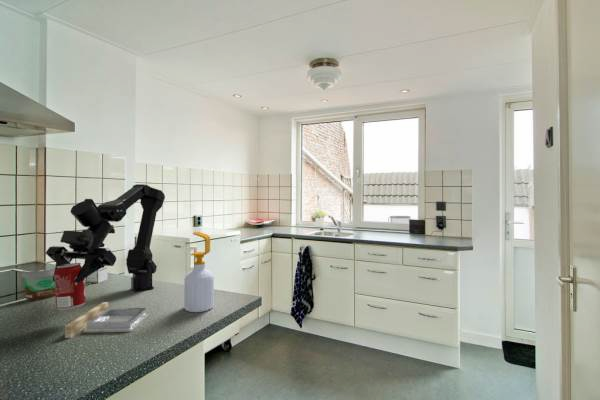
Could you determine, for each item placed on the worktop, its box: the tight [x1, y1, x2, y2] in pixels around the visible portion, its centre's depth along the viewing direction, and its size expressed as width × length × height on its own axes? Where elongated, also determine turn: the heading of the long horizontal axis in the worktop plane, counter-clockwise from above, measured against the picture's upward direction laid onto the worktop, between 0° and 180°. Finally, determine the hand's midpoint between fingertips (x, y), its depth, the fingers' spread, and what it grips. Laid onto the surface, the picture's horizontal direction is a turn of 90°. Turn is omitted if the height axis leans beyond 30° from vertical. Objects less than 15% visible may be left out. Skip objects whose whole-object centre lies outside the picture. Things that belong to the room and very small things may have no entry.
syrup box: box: [85, 245, 108, 284], centre depth 134 cm, size 6×6×14 cm
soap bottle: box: [183, 231, 215, 313], centre depth 104 cm, size 9×9×25 cm
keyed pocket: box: [83, 307, 150, 334], centre depth 92 cm, size 12×12×2 cm
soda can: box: [54, 262, 87, 311], centre depth 90 cm, size 7×7×12 cm
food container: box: [20, 267, 56, 301], centre depth 113 cm, size 12×6×10 cm, turn 148°
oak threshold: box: [64, 301, 109, 339], centre depth 91 cm, size 18×2×3 cm, turn 4°
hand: (64, 281), depth 89 cm, fingers closed on soda can, 6 cm apart
